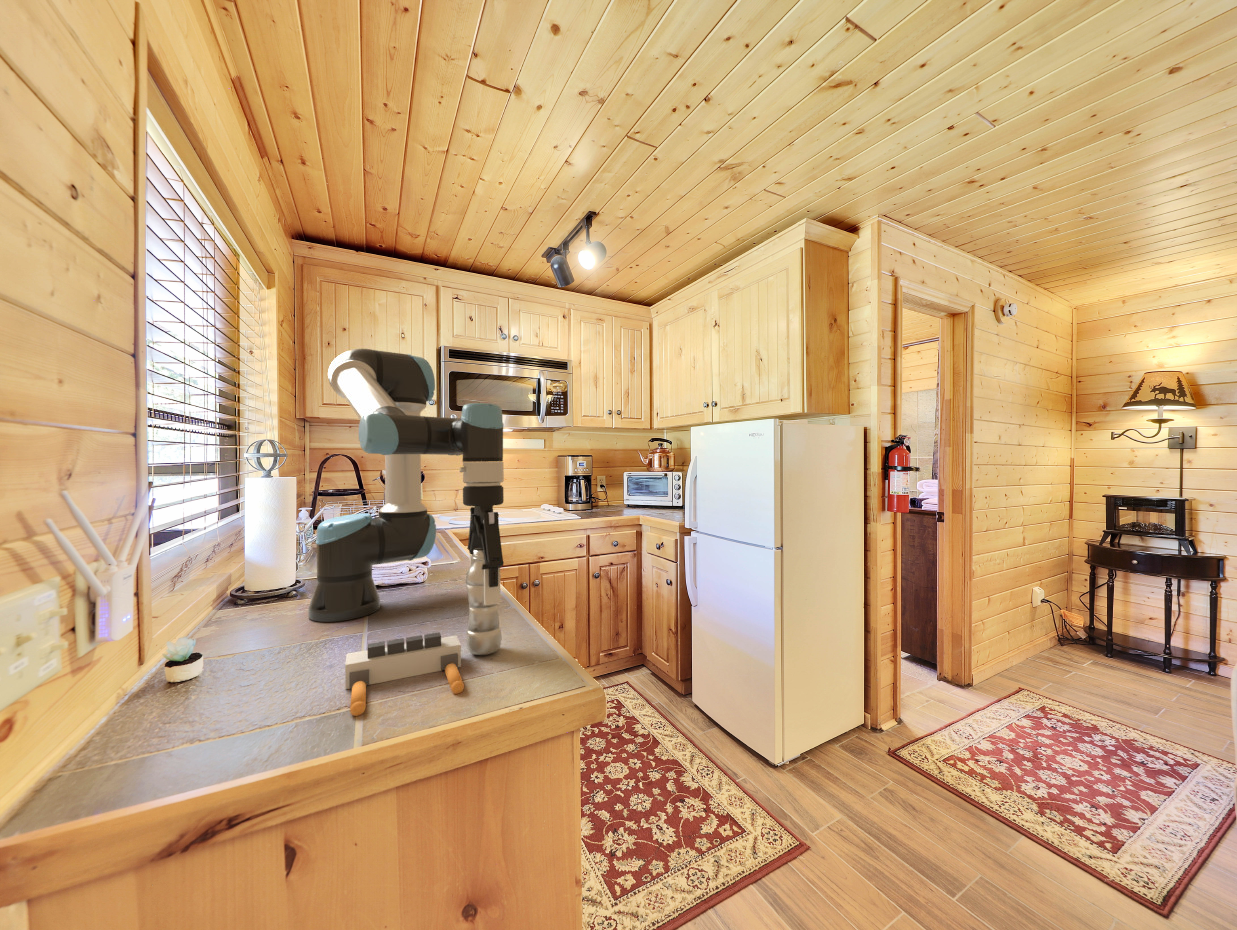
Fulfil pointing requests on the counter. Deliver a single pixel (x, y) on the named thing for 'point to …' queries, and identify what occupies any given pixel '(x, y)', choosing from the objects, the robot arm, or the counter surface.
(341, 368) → the robot arm
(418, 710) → the counter surface
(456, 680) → the cord
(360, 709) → the cord
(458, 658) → the breaker strip
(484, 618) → the plastic bottle
